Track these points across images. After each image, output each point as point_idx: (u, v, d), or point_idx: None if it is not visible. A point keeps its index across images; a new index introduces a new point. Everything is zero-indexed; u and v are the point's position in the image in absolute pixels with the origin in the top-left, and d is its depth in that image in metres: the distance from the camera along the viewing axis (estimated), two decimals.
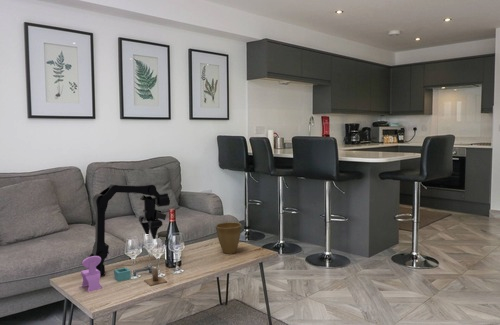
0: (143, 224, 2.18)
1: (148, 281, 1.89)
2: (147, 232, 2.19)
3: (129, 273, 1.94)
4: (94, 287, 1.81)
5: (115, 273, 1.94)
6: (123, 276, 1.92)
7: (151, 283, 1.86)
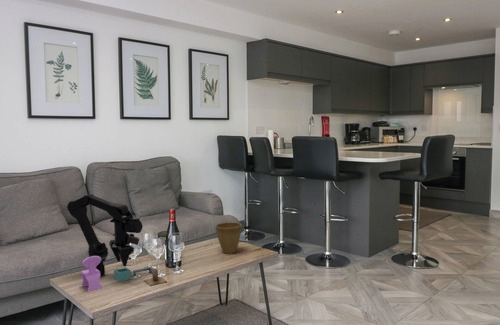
0: (114, 249, 1.97)
1: (148, 281, 1.89)
2: (118, 258, 1.98)
3: (129, 273, 1.94)
4: (94, 287, 1.81)
5: (115, 273, 1.94)
6: (123, 276, 1.92)
7: (151, 283, 1.86)
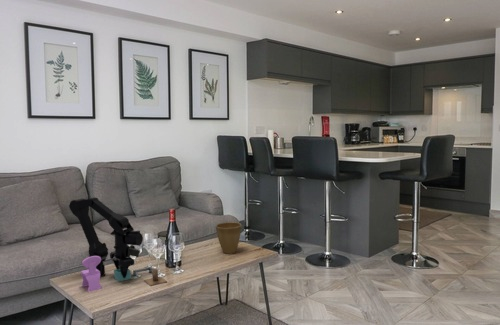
0: (115, 262, 1.97)
1: (148, 281, 1.89)
2: None
3: (129, 273, 1.94)
4: (94, 287, 1.81)
5: (115, 273, 1.94)
6: None
7: (151, 283, 1.86)
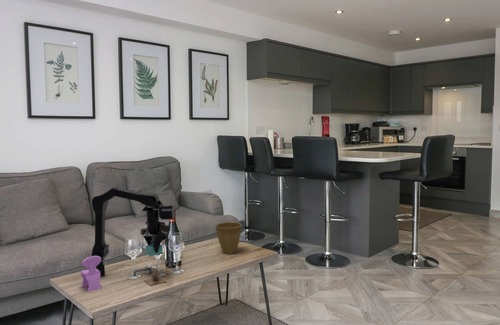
0: (146, 238, 2.00)
1: (148, 281, 1.89)
2: None
3: (161, 248, 1.98)
4: (94, 287, 1.81)
5: (147, 248, 1.97)
6: None
7: (151, 283, 1.86)
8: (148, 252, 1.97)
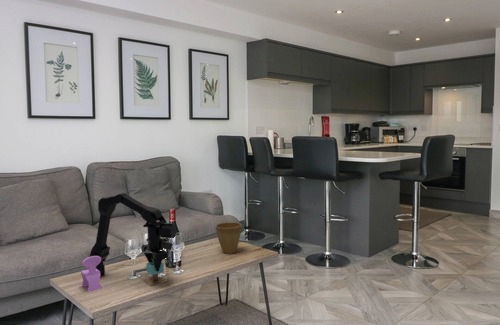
0: (147, 255, 1.91)
1: (148, 281, 1.89)
2: None
3: (162, 266, 1.89)
4: (94, 287, 1.81)
5: (148, 266, 1.89)
6: None
7: (151, 283, 1.86)
8: (149, 270, 1.88)
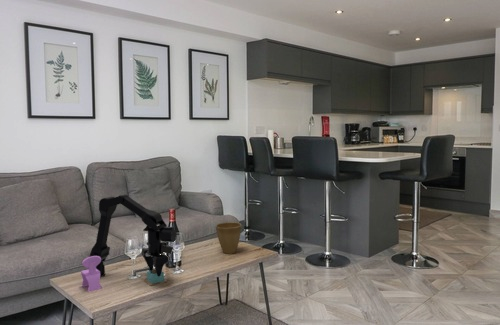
0: (146, 258, 1.92)
1: (148, 281, 1.89)
2: (151, 267, 1.93)
3: (162, 275, 1.89)
4: (94, 287, 1.81)
5: (148, 275, 1.89)
6: (156, 278, 1.87)
7: None
8: (149, 279, 1.88)
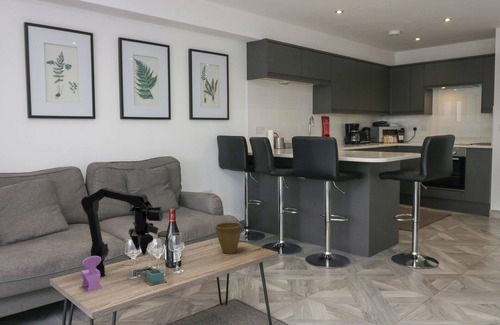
0: (133, 238, 2.00)
1: (148, 281, 1.89)
2: (137, 246, 2.00)
3: (162, 275, 1.89)
4: (94, 287, 1.81)
5: (148, 275, 1.89)
6: (156, 278, 1.87)
7: None
8: (149, 279, 1.88)
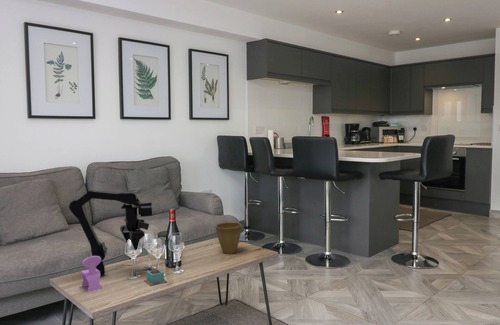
0: (124, 234, 2.05)
1: (148, 281, 1.89)
2: None
3: (162, 275, 1.89)
4: (94, 287, 1.81)
5: (148, 275, 1.89)
6: (156, 278, 1.87)
7: None
8: (149, 279, 1.88)
